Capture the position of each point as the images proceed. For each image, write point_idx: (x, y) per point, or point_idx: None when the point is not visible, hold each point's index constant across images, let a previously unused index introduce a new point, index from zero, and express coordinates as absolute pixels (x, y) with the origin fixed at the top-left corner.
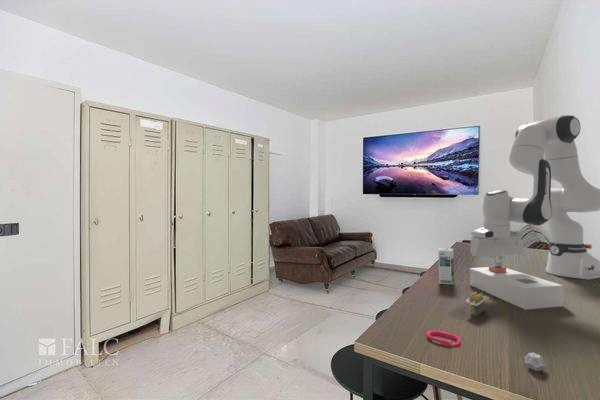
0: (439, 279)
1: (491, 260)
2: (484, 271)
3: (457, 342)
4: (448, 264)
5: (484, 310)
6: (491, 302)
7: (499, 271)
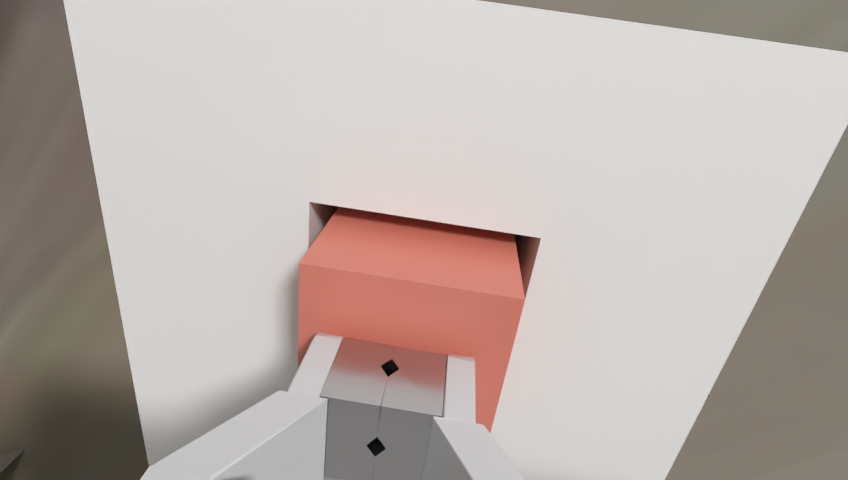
0: None
1: (235, 437)
2: (200, 247)
3: None
4: None
5: (18, 452)
6: None
7: None
